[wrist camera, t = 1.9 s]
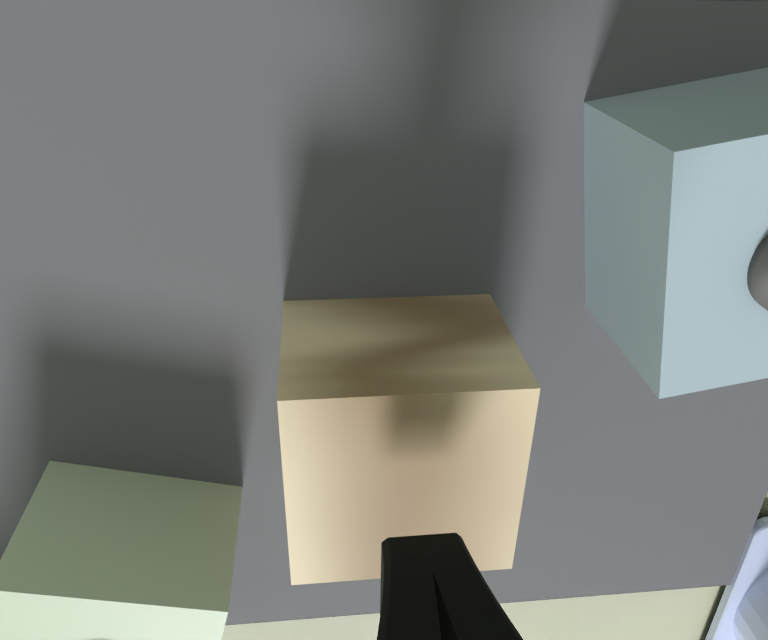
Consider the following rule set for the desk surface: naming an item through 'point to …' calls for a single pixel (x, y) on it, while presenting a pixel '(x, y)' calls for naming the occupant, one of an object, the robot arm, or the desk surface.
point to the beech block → (400, 430)
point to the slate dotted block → (681, 229)
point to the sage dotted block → (120, 558)
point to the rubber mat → (347, 257)
